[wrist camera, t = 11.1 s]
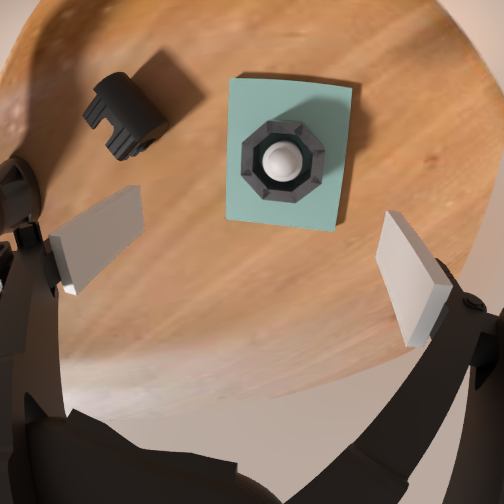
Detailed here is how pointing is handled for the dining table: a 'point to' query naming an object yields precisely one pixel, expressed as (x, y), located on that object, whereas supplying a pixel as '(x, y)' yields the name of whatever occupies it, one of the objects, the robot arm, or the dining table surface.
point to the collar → (274, 188)
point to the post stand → (287, 149)
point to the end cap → (125, 115)
